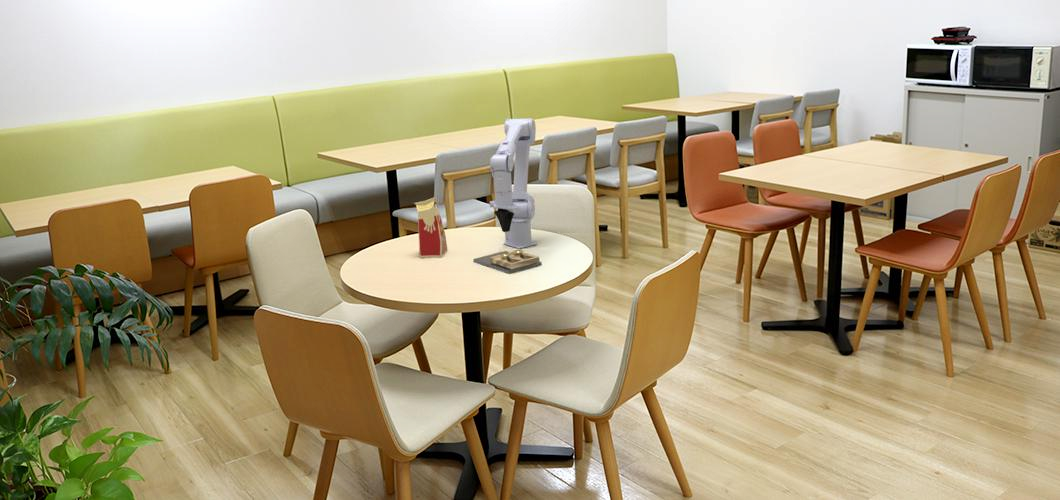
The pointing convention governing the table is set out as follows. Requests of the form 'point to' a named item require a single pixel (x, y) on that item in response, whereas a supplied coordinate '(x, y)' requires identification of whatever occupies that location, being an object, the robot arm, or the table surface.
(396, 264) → the table surface
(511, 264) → the panel
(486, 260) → the silver double slider board
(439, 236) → the red snack bag
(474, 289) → the table surface
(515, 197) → the robot arm
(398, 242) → the table surface
